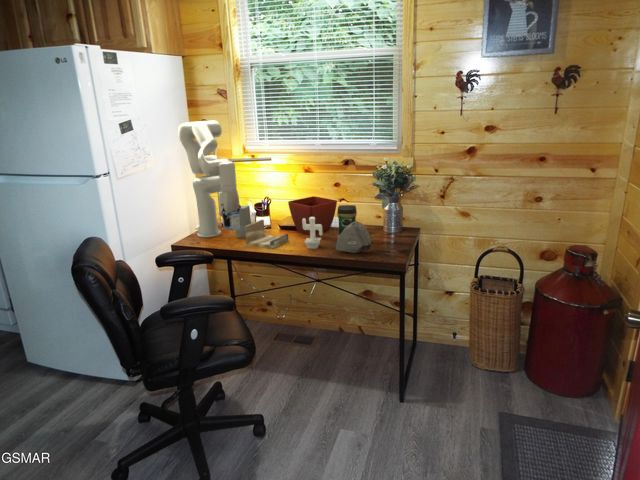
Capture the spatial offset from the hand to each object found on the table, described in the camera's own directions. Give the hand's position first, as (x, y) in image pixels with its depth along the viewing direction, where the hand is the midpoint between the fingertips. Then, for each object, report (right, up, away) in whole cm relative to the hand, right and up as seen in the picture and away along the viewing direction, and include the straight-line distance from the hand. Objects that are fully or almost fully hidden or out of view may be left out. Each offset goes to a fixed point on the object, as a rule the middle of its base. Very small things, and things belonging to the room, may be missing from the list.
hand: (231, 224), depth 225 cm
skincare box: (+2, -5, +23) cm, 24 cm away
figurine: (+40, -11, 0) cm, 41 cm away
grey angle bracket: (+16, -9, +10) cm, 21 cm away
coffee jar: (+57, -9, +7) cm, 58 cm away
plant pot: (+39, -3, +27) cm, 48 cm away
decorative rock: (+58, -13, -9) cm, 61 cm away
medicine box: (0, -2, +1) cm, 2 cm away
